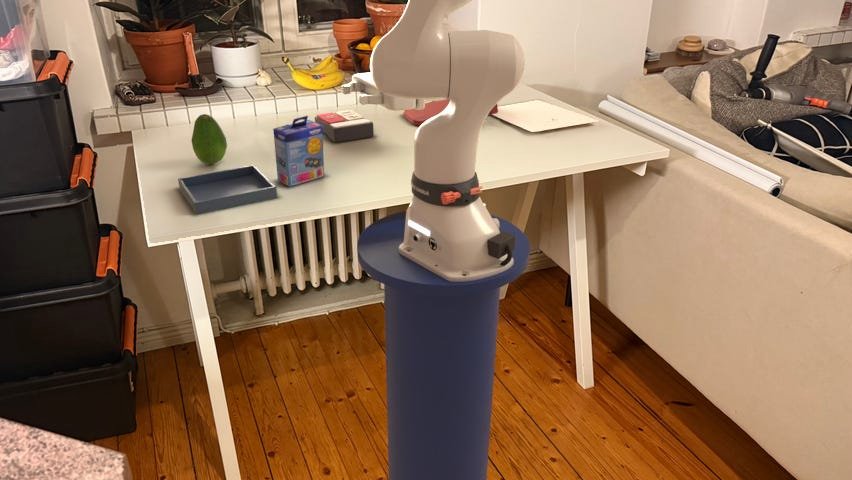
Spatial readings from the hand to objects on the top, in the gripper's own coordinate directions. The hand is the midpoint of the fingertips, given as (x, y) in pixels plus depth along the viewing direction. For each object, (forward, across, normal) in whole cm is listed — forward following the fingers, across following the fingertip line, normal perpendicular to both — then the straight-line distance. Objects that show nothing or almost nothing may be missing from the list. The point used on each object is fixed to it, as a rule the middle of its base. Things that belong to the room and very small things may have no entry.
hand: (350, 95), depth 154 cm
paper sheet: (-61, -11, +18) cm, 64 cm away
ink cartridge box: (+13, 0, +17) cm, 22 cm away
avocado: (+28, -20, +17) cm, 38 cm away
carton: (-41, -24, +18) cm, 50 cm away
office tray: (+30, 0, +17) cm, 34 cm away
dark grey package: (-9, -26, +18) cm, 32 cm away
